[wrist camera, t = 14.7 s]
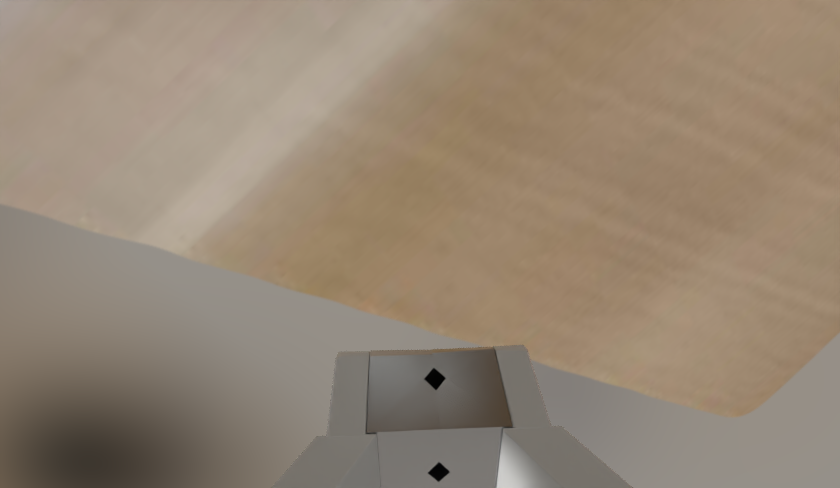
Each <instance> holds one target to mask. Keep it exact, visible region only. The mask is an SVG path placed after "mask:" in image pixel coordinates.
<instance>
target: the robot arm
mask: <svg viewBox="0 0 840 488" xmlns="http://www.w3.org/2000/svg"><path fill="white" fill-rule="evenodd" d="M271 488H633V487H631V486H630V485H629V484H628V483H627V482H626V481H625V480H623V479H622V478H621V477H620V476H619V475H618V474H616V473H615V472H614V471H613V470H612V469H611V468H609V467H608V466H607V465H606V464H605V463H604V462H602V461H601V460H600V459H599V458H598V457H597V456H596V455H594V454H593V453H592V452H591V451H589V449H587V448H586V447H585V446H584V445H583V444H582V443H580V442H579V441H578V440H577V439H576V438H575V437H573V436H572V435H571V434H570V433H569V432H568V431H567V430H565V429H564V428H563V427H562V426H551V423H550V420H549V417H548V413H547V410H546V407H545V404H544V401H543V397H542V394H541V391H540V388H539V385H538V382H537V378H536V375H535V372H534V369H533V366H532V363H531V359H530V356H529V353H528V350H527V348H526V347H525V346H524V345H512V346H493V347H477V348H455V349H433V350H385V351H384V350H382V351H381V350H380V351H371V352H368V351H361V352H360V351H359V352H358V351H357V352H338V355H337V357H336V361H335V369H334V377H333V385H332V394H331V402H330V410H329V419H328V427H327V435H326V436H317V437H316V438H315V439H314V440H313V441H312V442H311V443H310V445H309V446H308V447H307V448H306V449H305V450H304V451H303V452H302V453H301V455H300V456H299V457H298V458H297V459H296V460H295V461H294V463H293V464H292V465H291V466H290V467H289V468H288V469H287V470H286V472H285V473H284V474H283V475H282V476H281V477H280V478H279V480H278V481H277V482H276V483H275V484H274V485H273V487H271Z"/></svg>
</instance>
